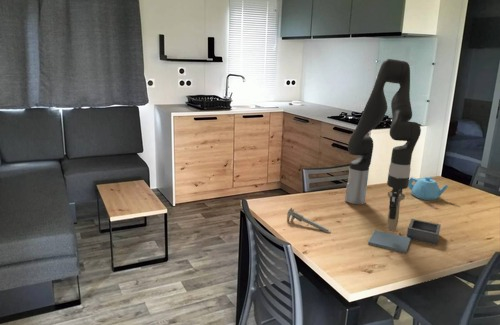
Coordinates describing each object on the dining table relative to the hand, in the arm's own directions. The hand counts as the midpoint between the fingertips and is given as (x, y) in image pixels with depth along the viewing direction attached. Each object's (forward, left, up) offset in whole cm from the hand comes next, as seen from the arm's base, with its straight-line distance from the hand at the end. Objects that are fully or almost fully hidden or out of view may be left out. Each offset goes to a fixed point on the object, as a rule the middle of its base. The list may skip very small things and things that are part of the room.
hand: (393, 216), depth 157 cm
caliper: (-33, -3, -11) cm, 35 cm away
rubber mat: (0, 0, -11) cm, 11 cm away
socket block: (+11, +13, -11) cm, 20 cm away
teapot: (+7, +68, -11) cm, 69 cm away
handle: (0, 0, -6) cm, 6 cm away
